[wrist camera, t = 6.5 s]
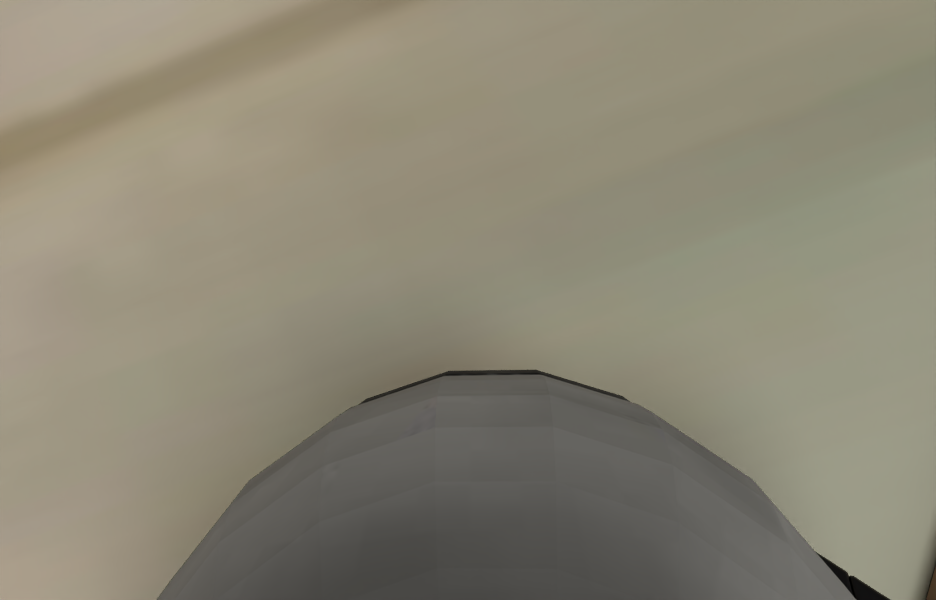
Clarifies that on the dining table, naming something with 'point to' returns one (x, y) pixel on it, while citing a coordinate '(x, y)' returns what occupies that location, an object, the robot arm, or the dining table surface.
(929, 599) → the walnut board
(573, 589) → the beverage cup
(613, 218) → the dining table surface
